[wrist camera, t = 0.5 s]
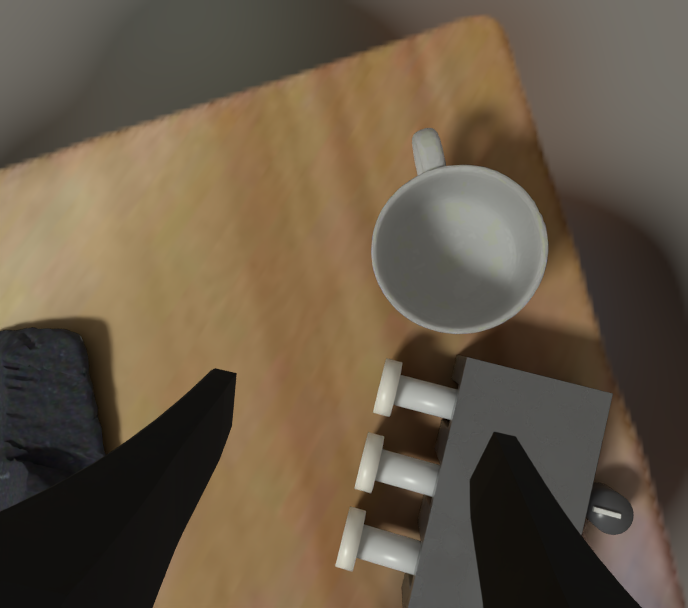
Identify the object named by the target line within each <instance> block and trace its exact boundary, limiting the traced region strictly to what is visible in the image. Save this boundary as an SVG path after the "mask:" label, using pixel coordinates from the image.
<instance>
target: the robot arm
mask: <svg viewBox="0 0 688 608" xmlns="http://www.w3.org/2000/svg"><path fill="white" fill-rule="evenodd" d="M236 374H237V373H233V372H229V371H225V370H220V369H216V368H215V369H213V370H211V371H210V372H209V373H208V374H207V375H206V376H205V377H204V378H203V379H202V380H201V381H200V382H199V383H197V384H196V385H195V386H194V387H193V388H192V389H191V390H190V391H189V392H188V393H186V394H185V395H184V396H183V397H182V398H181V399H180V400H179V401H177V402H176V403H175V404H174V405H173V406H171V407H170V408H169V409H168V410H167V411H165V412H164V413H163V414H162V415H161V416H159V417H158V418H157V419H156V420H154V421H153V422H152V423H150V424H149V425H148V426H146V427H145V428H144V429H142V430H141V431H140V432H138V433H137V434H136V435H134V436H133V437H132V438H130V439H129V440H127V441H126V442H125V443H123V444H122V445H120V446H119V447H117V448H116V449H114V450H113V451H111V452H110V453H108V454H107V455H105V456H103V457H102V458H100V459H99V460H97V461H96V462H94V463H92V464H91V465H89V466H87V467H85V468H84V469H82V470H80V471H79V472H77V473H75V474H73V475H72V476H70V477H68V478H66V479H65V480H63V481H61V482H59V483H57V484H55V485H53V486H52V487H50V488H48V489H46V490H44V491H41V492H39V493H37V494H35V495H33V496H31V497H29V498H27V499H25V500H23V501H21V502H19V503H17V504H15V505H13V506H11V507H9V508H6V509H4V510H2V511H0V608H153V605H154V602H155V600H156V597H157V595H158V592H159V589H160V587H161V584H162V582H163V579H164V577H165V574H166V571H167V569H168V566H169V564H170V561H171V559H172V556H173V554H174V551H175V549H176V547H177V544H178V542H179V540H180V538H181V536H182V533H183V531H184V529H185V527H186V525H187V523H188V521H189V519H190V518H191V516H192V514H193V512H194V510H195V508H196V506H197V504H198V502H199V500H200V498H201V496H202V494H203V492H204V490H205V488H206V486H207V484H208V482H209V480H210V478H211V476H212V474H213V472H214V470H215V468H216V466H217V464H218V462H219V460H220V457H221V454H222V452H223V449H224V446H225V444H226V441H227V438H228V435H229V433H230V430H231V427H232V419H233V408H234V397H235V385H236ZM470 518H471V526H472V533H473V540H474V547H475V554H476V561H477V568H478V575H479V581H480V588H481V595H482V602H483V608H642V607H641V606H640V605H639V604H638V603H637V602H636V601H635V600H634V599H633V598H632V597H631V596H630V594H629V593H628V592H627V591H626V590H625V589H624V588H623V587H622V585H621V584H620V583H619V582H618V581H617V579H616V578H615V577H614V576H613V575H612V574H611V572H610V571H609V570H608V569H607V568H606V566H605V565H604V564H603V563H602V562H601V560H600V559H599V558H598V557H597V555H596V554H595V553H594V552H593V550H592V549H591V548H590V546H589V545H588V544H587V542H586V541H585V540H584V538H583V537H582V536H581V534H580V533H579V532H578V530H577V529H576V528H575V526H574V525H573V524H572V522H571V521H570V519H569V518H568V516H567V515H566V514H565V512H564V511H563V509H562V508H561V506H560V505H559V503H558V502H557V500H556V499H555V497H554V496H553V494H552V493H551V491H550V490H549V488H548V487H547V485H546V484H545V482H544V480H543V479H542V477H541V476H540V474H539V473H538V471H537V469H536V468H535V466H534V465H533V463H532V461H531V460H530V458H529V457H528V455H527V453H526V452H525V450H524V449H523V447H522V445H521V444H520V442H519V441H518V439H517V437H516V436H512V435H508V434H503V433H499V432H493V434H492V436H491V438H490V440H489V442H488V444H487V446H486V448H485V450H484V452H483V454H482V456H481V458H480V460H479V462H478V464H477V466H476V468H475V470H474V472H473V474H472V476H471V478H470Z"/></svg>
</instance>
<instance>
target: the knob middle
mask: <svg viewBox="0 0 688 608" xmlns="http://www.w3.org/2000/svg"><path fill="white" fill-rule="evenodd" d="M383 442H384V436H381V435H377V434H374V433H370V432H368V435H367V439H366V443H365V447H364V451H363V455H362V459H361V463H360V468H359V472H358V476H357V480H356V484H355V488H354V489H358V490H361V491H365V492H368V493H371V492H372V489H373V486H374V482H375V481H379V482H382V483H386V484H389V485H393V486H396V487H400V488H403V489H407V490H411V491H414V492H418V493H421V494H425V495H428V496H432V495H433V491H434V487H435V483H436V478H437V474H438V470H439V466H440V465H438V464H434V463H431V462H427V461H423V460H420V459H416V458H412V457H409V456H405V455H402V454H398V453H394V452H391V451H387V450H384V449H382V448H383Z"/></svg>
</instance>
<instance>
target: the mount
mask: <svg viewBox="0 0 688 608" xmlns="http://www.w3.org/2000/svg"><path fill="white" fill-rule="evenodd" d="M451 379H452V380H454V381H455V382H457V383H458V384H459V385H458V390H457V394H456V398H455V402H454V407H453V411H452V415H451V419H450V422H449V421H445V420H441V424H440V428H439V432H438V437H437V441H436V445H435V452H436V454H437V456H438V459H439V461H440V466H439V470H438V474H437V478H436V483H435V487H434V491H433V495H432V496H428V495H425V494H424V495H423V500H422V504H421V508H420V512H419V516H418V527H419V533H420V540H421V546H420V550H419V554H418V559H417V563H416V567H415V571H414V575H412V574H409V573H405V575H404V580H403V584H402V606H403V608H483V602H482V595H481V588H480V581H479V575H478V568H477V561H476V554H475V547H474V540H473V533H472V526H471V518H470V478H471V476H472V474H473V472H474V470H475V468H476V466H477V464H478V462H479V460H480V458H481V456H482V454H483V452H484V450H485V448H486V446H487V444H488V442H489V440H490V438H491V436H492V434H493V432H499V433H503V434H508V435H512V436H516V437H517V439H518V441H519V442H520V444H521V445H522V447H523V449H524V450H525V452H526V453H527V455H528V457H529V458H530V460H531V461H532V463H533V465H534V466H535V468H536V469H537V471H538V473H539V474H540V476H541V477H542V479H543V480H544V482H545V484H546V485H547V487H548V488H549V490H550V491H551V493H552V494H553V496H554V497H555V499H556V500H557V502H558V503H559V505H560V506H561V508H562V509H563V511H564V512H565V514H566V515H567V516H568V518H569V519H570V521H571V522H572V524H573V525H574V526H575V528H576V529H577V530H578V532H579V533H580V534H581V535H582V531H583V526H584V522H585V517H586V513H587V508H588V504H589V499H590V495H591V490H592V486H593V481H594V477H595V472H596V467H597V463H598V458H599V454H600V449H601V445H602V440H603V436H604V431H605V427H606V422H607V418H608V413H609V409H610V404H611V400H612V395H613V394H612V393H608V392H604V391H600V390H596V389H592V388H588V387H584V386H580V385H576V384H572V383H568V382H564V381H560V380H556V379H552V378H548V377H544V376H540V375H536V374H532V373H528V372H524V371H520V370H516V369H512V368H508V367H504V366H500V365H496V364H492V363H488V362H484V361H480V360H476V359H472V358H468V357H464V356H460V355H457V357H456V361H455V365H454V369H453V373H452V378H451Z"/></svg>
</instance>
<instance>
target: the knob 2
mask: <svg viewBox="0 0 688 608" xmlns="http://www.w3.org/2000/svg"><path fill="white" fill-rule="evenodd" d="M365 515H366V511H364V510H361V509H358V508H354V507H351V506H350V508H349V512H348V517H347V521H346V525H345V529H344V533H343V537H342V541H341V545H340V549H339V553H338V558H337V562H336V567H339V568H342V569H346V570H349V571H353V568H354V564H355V560H356V558H359V559H363V560H366V561H369V562H372V563H376V564H379V565H382V566H386V567H389V568H392V569H395V570H399V571H402V572H405V573H409V574H412V575H414V571H415V567H416V563H417V559H418V554H419V550H420V546H421V541H419V540H415V539H412V538H409V537H405V536H402V535H398V534H395V533H392V532H388V531H385V530H381V529H378V528H375V527H371V526H368V525H365V524H364V521H365Z"/></svg>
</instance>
